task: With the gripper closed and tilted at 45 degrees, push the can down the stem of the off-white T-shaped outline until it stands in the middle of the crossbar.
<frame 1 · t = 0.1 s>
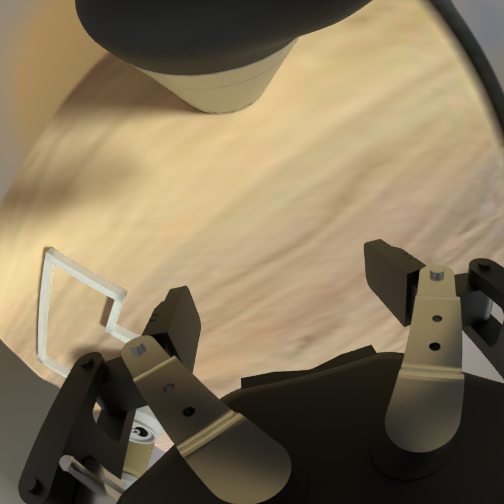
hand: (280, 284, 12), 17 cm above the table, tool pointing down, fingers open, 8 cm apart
t outline: (73, 330, 33), on the table
squeeze bottle: (138, 423, 44), on the table
can: (150, 368, 37), on the table
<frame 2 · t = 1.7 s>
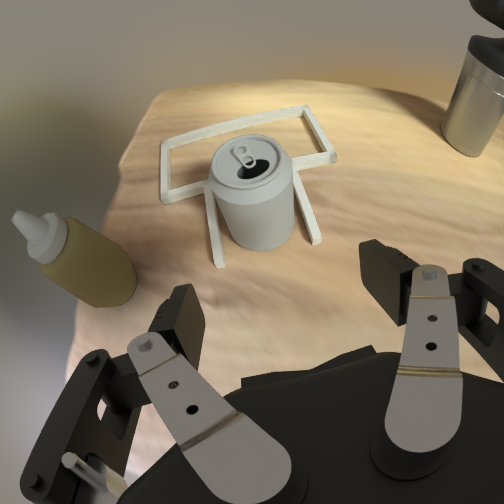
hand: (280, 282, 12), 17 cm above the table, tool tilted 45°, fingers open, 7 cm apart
t outline: (242, 150, 38), on the table
squeeze bottle: (119, 284, 33), on the table
can: (262, 226, 33), on the table
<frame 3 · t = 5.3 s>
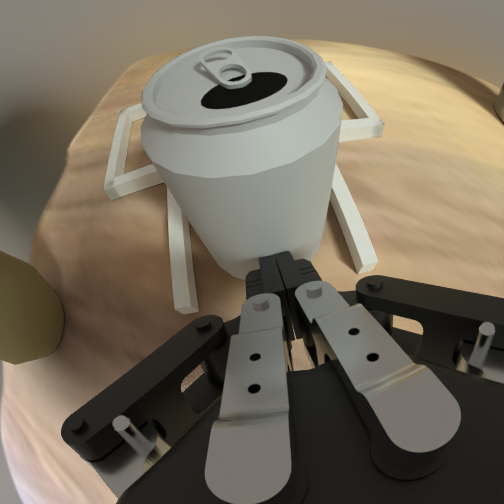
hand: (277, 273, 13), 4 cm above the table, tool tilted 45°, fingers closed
t outline: (234, 117, 24), on the table
squeeze bottle: (46, 323, 18), on the table
can: (265, 233, 18), on the table, touching gripper
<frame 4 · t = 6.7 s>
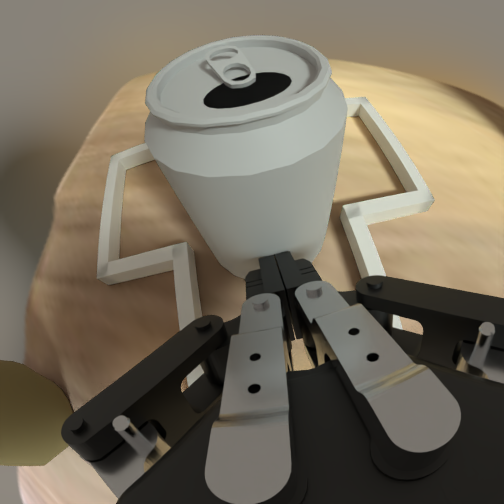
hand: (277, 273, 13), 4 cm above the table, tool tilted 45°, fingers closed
t outline: (252, 176, 20), on the table
squeeze bottle: (54, 414, 15), on the table
can: (267, 233, 18), on the table, touching gripper
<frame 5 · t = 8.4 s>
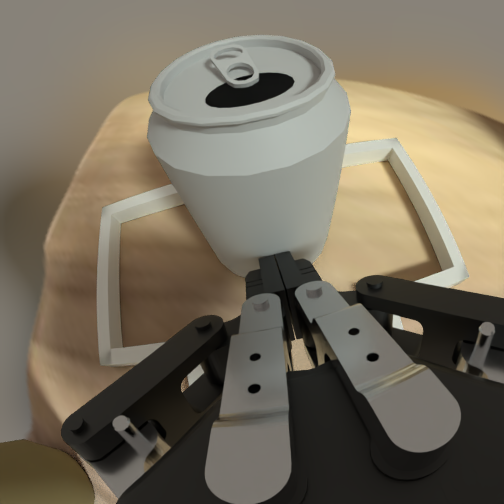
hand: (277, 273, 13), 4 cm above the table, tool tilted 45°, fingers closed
t outline: (270, 246, 18), on the table
squeeze bottle: (70, 479, 12), on the table
can: (269, 233, 18), on the table, touching gripper
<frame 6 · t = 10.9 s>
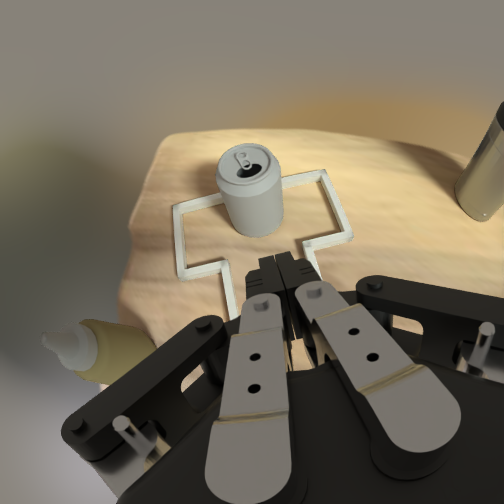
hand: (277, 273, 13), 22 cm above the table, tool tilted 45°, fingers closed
t outline: (258, 223, 39), on the table
squeeze bottle: (142, 359, 33), on the table
can: (257, 218, 40), on the table
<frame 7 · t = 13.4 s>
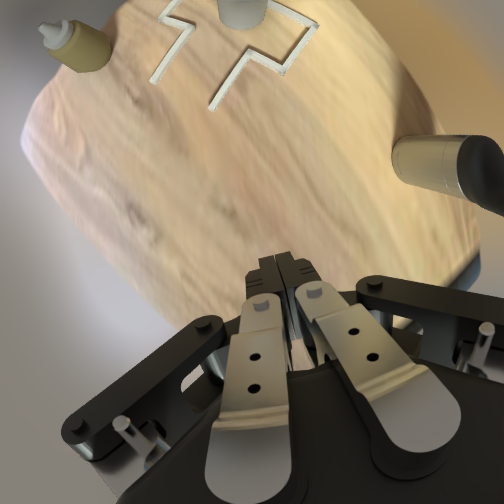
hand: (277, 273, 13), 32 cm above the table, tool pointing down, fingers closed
t outline: (237, 19, 33), on the table
squeeze bottle: (98, 57, 33), on the table
can: (241, 16, 33), on the table
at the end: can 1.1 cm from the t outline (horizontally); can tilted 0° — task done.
